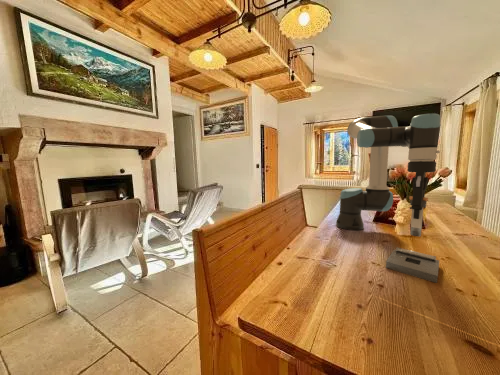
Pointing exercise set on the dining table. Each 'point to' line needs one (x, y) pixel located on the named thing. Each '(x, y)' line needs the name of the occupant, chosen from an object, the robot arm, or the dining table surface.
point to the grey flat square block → (414, 264)
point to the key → (415, 230)
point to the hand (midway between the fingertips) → (416, 225)
